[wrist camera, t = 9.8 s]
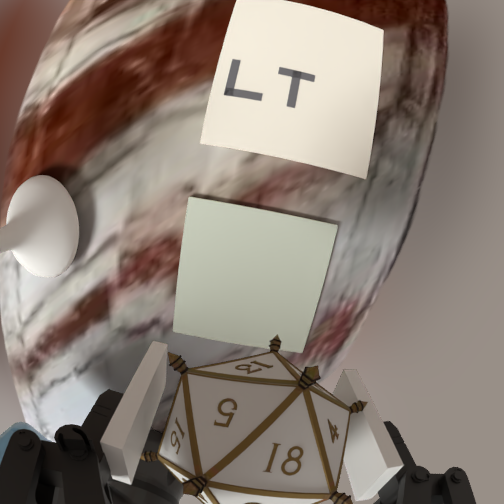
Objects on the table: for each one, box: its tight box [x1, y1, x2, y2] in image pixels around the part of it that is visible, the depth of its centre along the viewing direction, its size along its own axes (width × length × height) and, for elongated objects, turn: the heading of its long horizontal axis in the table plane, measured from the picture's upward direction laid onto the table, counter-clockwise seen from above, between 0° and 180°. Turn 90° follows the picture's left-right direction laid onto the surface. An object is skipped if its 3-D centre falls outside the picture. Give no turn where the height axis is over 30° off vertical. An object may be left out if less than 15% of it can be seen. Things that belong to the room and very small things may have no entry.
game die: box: [140, 334, 368, 504], centre depth 10 cm, size 9×8×10 cm
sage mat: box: [173, 197, 338, 353], centre depth 28 cm, size 14×14×1 cm
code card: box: [200, 0, 384, 179], centre depth 23 cm, size 18×16×1 cm
